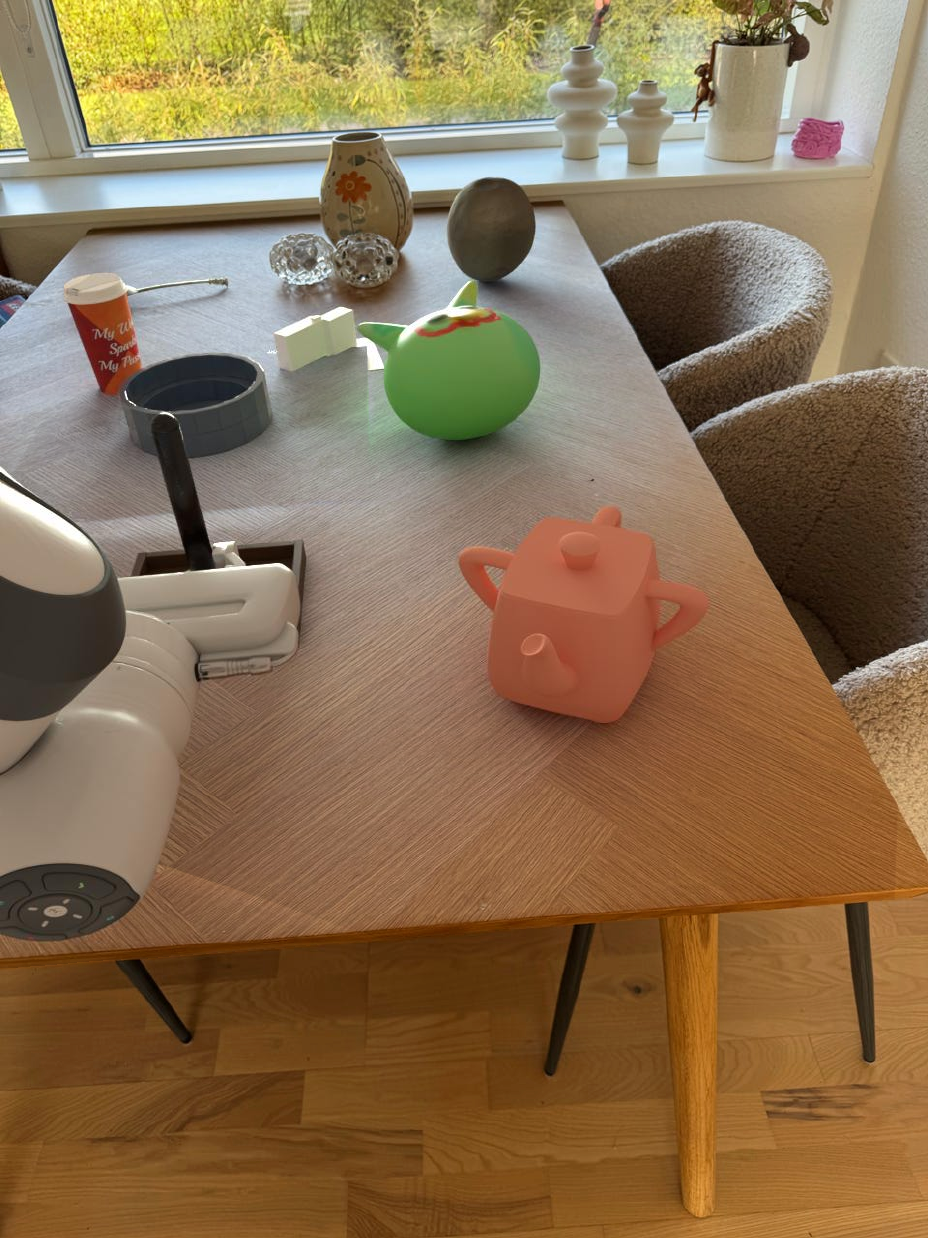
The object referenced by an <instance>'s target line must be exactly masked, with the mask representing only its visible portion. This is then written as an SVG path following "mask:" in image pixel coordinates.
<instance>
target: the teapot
mask: <svg viewBox="0 0 928 1238" xmlns="http://www.w3.org/2000/svg"><path fill="white" fill-rule="evenodd" d="M622 521H623V519H622V511H621V510H620V509H619V508H618V507H616V506H614V505H605V506H603V507H601V508H600V509H599V510H598V511H597V512H596V514H595V515H594V517H593V519H592V521H591V522H588V521H581V520H576V519H569V518H560V517H552V516H547V517H544V518H543V519H541V520H540V521H538V522H537V523H536V524H535V525H534V526H533V527H532V528H531V529H530V531H529V532H528V534H527V535H526V536H525V538H524V539H523V540H522V541H521V543H520V545H519V546H518V548H517V549H516V551H515V553H513V552H511V551H510V552H509V551H505V550H504V549H503V550H502V549H498V548H493V547H488V546H481V545H480V546H478V545H476V546H469V547H466V548H465V549H463V550H461V552H460V553H459V556H458V561H457V562H458V563H457V564H458V568H459V570H460V572H461V574H462V577H463V578H464V580H465V582H466V583H467V584H468V586H469V587H470V589H471V590H472V591H473V592H474V594H476V596H477V597H478V598H479V599H480V600H481V601H482V602H483V603H484V605H485V606H486V607H487V608H488V609H489V610H490V611H491V612H492V618H491V622H490V626H489V633H488V640H487V655H486V668H487V669H486V671H487V672H486V674H487V677H488V680H489V683H490V685H491V687H492V688H493V690H494V693H495V694H496V695H497V696H499V697H500V698H503V699H504V700H505V699H506V700H508V701H512V702H514V703H515V704H519V705H525V706H528V707H529V706H530V707H531V708H537V709H541V710H545V711H548V712H551V713H557V714H560V715H565V716H571V717H575V718H580V719H584V720H589V721H593V722H595V723H598V724H609V723H613V722H616V721H617V720H619V719H620V718H621V717H622V716H623V715H624V714H625V713H626V711H627V709H628V708H629V707H630V705H631V704H632V702H633V701H634V699H635V697H636V695H637V693H638V692H639V690H640V688H641V686H642V685H643V684H644V683H643V682H644V681H645V679H646V677H647V675H648V672H649V671H650V668H651V666H652V663H653V660H654V657H655V654H656V650H658V649H659V648H661V647H663V646H666V645H667V644H669V643H670V642H671V643H672V641H674V640H676V639H678V638H679V637H681V636H683V635H684V634H686V633H688V632H690V631H691V630H692V629H694V628H695V627H696V626H697V625H698V624H699V623H701V621H702V620H703V618H704V617H705V616H706V614H707V611H708V609H709V606H710V604H709V601H710V600H709V598H708V596H707V594H706V593H704V591H702V590H701V589H699V588H697V587H695V586H692V585H688V584H685V583H680V582H674V581H669V580H661V578H660V569H659V564H658V558H657V550H656V545H655V542H654V541H655V540H654V539H653V536H651V535H649V534H648V533H645V532H640V531H635V530H631V529H627V528H622ZM485 567H491V568H496V569H500V570H503V571H505V572H504V574H503V577H502V580H501V581H500V582H501V583H500V586H499V589H498V588H497V586H495V584H494V582H493V581H492V579H491V578H490V576H489V574H488V572H487V569H486V568H485ZM662 601H666V602H671V603H674V604H677V605H678V606H679V609H678V610H677V612H676V613H675V614H674V615H673V616H672V617H671V618H670V619H669V620H668V621H667V622H666V623H664V624H663V625H662V626H661V627H660V623H661V622H660V621H661V605H662Z"/></svg>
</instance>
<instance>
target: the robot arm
mask: <svg viewBox="0 0 928 1238" xmlns="http://www.w3.org/2000/svg"><path fill="white" fill-rule="evenodd" d="M237 545H238V544H237V542H236V541H235V540H234V541H226V542H217V543H214V544H213V547H214V549H213V552H212V557H213V561H214V563H215V564H216V566H215V568H216V569H213V570H202V571H191V572H180V573H169V574H158V575H147V576H136V577H131V576H127V577H117V574H116V572H115V570H114V568H113V565H112V563H111V560H110V559H109V558H108V556H107V554H106V553H105V551H104V550H103V548H102V547H101V546H100V544H99V543H98V542H97V541H96V540H95V538H93V537H92V536H91V534H90V533H88V532H87V531H86V530H85V529H84V528H83V527H82V526H81V525H80V524H78V523H77V522H75V520H73V519H71V518H70V517H69V516H68V515H66V514H65V513H63V512H62V511H61V510H59V509H57V508H56V507H54V506H53V505H52V504H50V503H48V502H47V501H46V500H44V499H43V498H42V497H39V496H38V495H36V494H35V493H34V492H32V491H31V490H29V489H28V488H27V487H26V486H24V485H22V484H21V483H20V482H19V481H18V480H17V479H15V478H14V477H13V476H12V475H10V473H8V472H7V470H6V469H4V468H3V467H2V466H1V465H0V935H2V936H4V937H8V938H12V939H16V940H22V941H29V942H43V943H44V942H45V943H46V942H61V941H67V940H70V939H76V938H81V937H86V936H87V935H92V934H95V933H97V932H99V931H101V930H103V929H105V928H107V927H109V926H111V925H113V924H114V923H116V922H118V921H119V920H120V919H122V918H123V917H124V916H126V915H127V914H128V913H130V911H132V910H133V909H134V908H135V907H136V906H137V905H138V904H139V903H140V901H141V900H142V899H143V897H144V896H145V894H146V892H147V891H148V889H149V887H150V885H151V883H152V881H153V879H154V877H155V874H156V871H157V870H158V867H159V864H160V862H161V858H162V855H163V852H164V849H165V846H166V843H167V840H168V836H169V832H170V829H171V825H172V822H173V819H174V818H173V817H174V814H175V810H176V807H177V806H176V805H177V801H178V796H179V791H180V785H181V772H180V766H179V758H180V757H181V755H182V754H183V752H184V751H185V749H186V747H187V746H188V742H189V740H190V736H191V733H192V727H193V722H194V717H195V712H196V707H197V703H198V698H199V694H200V688H201V683H202V681H203V682H204V681H212V680H224V679H229V678H234V677H238V676H243V675H244V676H246V675H250V676H262V675H267V674H270V673H272V672H273V671H274V668H277V667H280V666H283V665H284V664H286V663H288V662H291V661H293V660H294V659H295V658H296V656H297V654H298V650H299V648H298V641H299V642H300V639H299V633H298V630H297V629H296V628H297V624H298V620H299V615H300V598H299V592H298V587H297V583H296V578H295V575H294V573H293V571H291V570H290V569H289V568H287V567H286V566H284V565H283V564H267V565H257V566H246V564H245V563H244V562H243V561H242V560H241V559H240V558H239V553H238V549H237Z"/></svg>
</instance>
